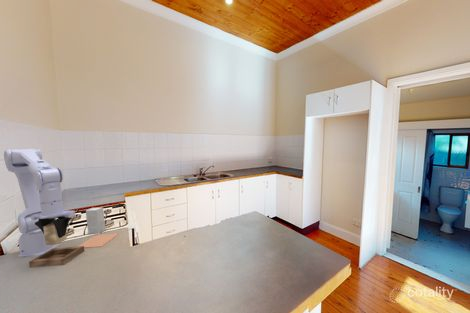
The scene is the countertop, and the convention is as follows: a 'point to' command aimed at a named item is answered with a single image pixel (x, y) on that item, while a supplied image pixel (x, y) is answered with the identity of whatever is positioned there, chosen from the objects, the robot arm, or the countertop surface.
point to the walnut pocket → (56, 256)
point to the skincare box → (95, 220)
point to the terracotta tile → (98, 240)
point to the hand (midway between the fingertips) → (56, 237)
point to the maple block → (52, 235)
